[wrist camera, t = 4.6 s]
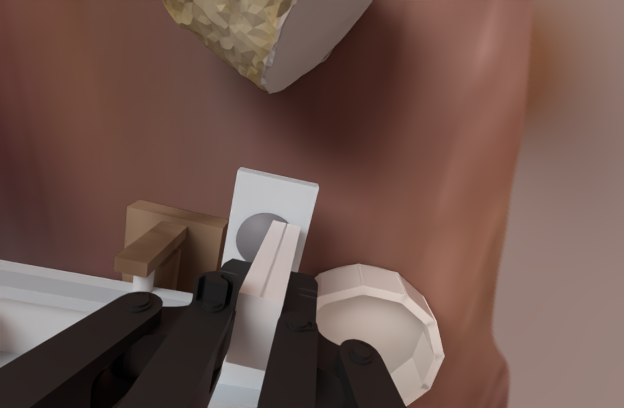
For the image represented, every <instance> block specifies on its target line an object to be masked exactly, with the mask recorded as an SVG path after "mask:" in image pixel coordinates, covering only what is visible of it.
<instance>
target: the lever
mask: <svg viewBox="0 0 624 408" xmlns="http://www.w3.org/2000/svg"><path fill="white" fill-rule="evenodd" d="M318 190H319V186H318V184H316V183H311V182H307V181H302V180H298V179H293V178H289V177H284V176H280V175H275V174H270V173H266V172H261V171H257V170H252V169H248V168H243V167H240V168H239V170H238V172H237V178H236V184H235V190H234V195H233V201H232V207H231V213H230V219H229V225H228V230H227V236H226V242H225V248H224V254H223V260H222V265H221V267H222V266H223V264H224V263H225V262H227V261H229V260H231V259H233V258H234V259H238V260H242V261H247V262H251V263H253V261H254V259H255V257H256V255H257V253H258V251H259V249H260V247H261V245H262V243H263V240H264V238H265V236H266V234H267V232H268V230H269V228H270V226H271V224H272V222H273V220H275V221H279V222H283V223H288V224H292V225H296V226H300V227H301V228H300V233H299V237H298V241H297V246H296V250H295V254H294V259H293V263H292V267H291V271H293V272H297V273H298V269H299V265H300V261H301V257H302V253H303V249H304V245H305V241H306V237H307V233H308V229H309V225H310V221H311V217H312V213H313V209H314V205H315V201H316V197H317V193H318ZM154 273H155V270H154V271H153V272H152V273H151V274H150V275H149V276H148V277H147V278H143V277H138V276H133V283H129V282H124V281H118V280H112V279H107V278H101V277H95V276H90V275H84V274H78V273H73V272H67V271H61V270H56V269H50V268H44V267H38V266H33V265H27V264H21V263H16V262H10V261H4V260H0V368H1V367H2V366H4V365H6V364H7V363H9V362H11V361H12V360H14V359H16V358H17V357H19V356H21V355H22V354H24V353H26V352H27V351H29V350H31V349H33V348H34V347H36V346H38V345H39V344H41V343H43V342H44V341H46V340H48V339H49V338H51V337H53V336H54V335H56V334H58V333H59V332H61V331H63V330H65V329H66V328H68V327H70V326H71V325H73V324H75V323H76V322H78V321H80V320H81V319H83V318H85V317H86V316H88V315H90V314H91V313H93V312H95V311H97V310H98V309H100V308H102V307H103V306H105V305H107V304H108V303H110V302H112V301H113V300H115V299H117V298H118V297H120V296H122V295H125V294H127V293H131V292H137V291H144V292H150V293H154V294H156V295H158V296H159V297H161V299H162V301H163V306H185V305H189V304H190V303H191V301H192V297H193V294H192V293H186V292H181V291H175V290H169V289H163V288H158V287H153V283H154ZM226 355H227V354H226ZM225 360H226V356H225V359H224V361H223V365H222V370H221V375H220V378H219V380H218V383H217V385H216V388H215V390H214V393H213V395H212V398H211V400H210V403H209V405H208V408H257V404H258V400H259V396H260V392H261V387H262V383H263V379H264V375H265V371H262V370H258V369H254V368H249V367H245V366H240V365H236V364H232V363H227V362H225Z"/></svg>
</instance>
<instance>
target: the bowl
mask: <svg viewBox="0 0 624 408" xmlns="http://www.w3.org/2000/svg"><path fill="white" fill-rule="evenodd" d="M315 280H316V281H317V283H318V292H317V293H318V295H317V311H316V323H317V325H318V330H319V332H320V333H321V334H322V335H323V336H324V337H325V338H327V339H328V340H330V341H332V342H334V343H336V344H338V345H341V343H342V342H344V341H345V340H348V339H357V340H362V341H364V342H366V343H368V344H370V345H371V346H373V347H374V348H375V349H376V350H377V351H378V353H379V354H380V355H381V357H382V359H383V361H384V363H385V365H386V367H387V369H388V371H389V373H390V375H391V377H392V379H393V381H394V383H395V385H396V387H397V390H398V392H399V394H400V396H401V398H402V400H403V402H404V404H405V406H408V405H409V404H410V403H412V402H413V401H415V400H416V399H417V398H419V397H420V396H421V395H423V394H424V393H426V392H427V391H428V390H430V389H431V386H432V384H433V381H434V379H435V377H436V375H437V372H438V370H439V368H440V366H441V363H442V361H443V359H444V358H445V357H444V356H445V355H444V353H443V348H442V344H441V339H440V335H439V330H438V326H437V321H436V319H435V317H434V315H433V313H432V311H431V310H430V308H429V306H428V304H427V302H426V300H425V298H424V296H422V295H421V294H420V293H419V292H418V291H417V290H416V289H415V288H414V287H413V286H412V285H411V284H410V283H409V282H408V281H406V280H405V279H404V278H403V277H401V276H400V275H399V274H398V272H393V271H390V270H387V269H385V268H381V267H378V266H372V265H363V264H358V263H357V264H354V265H345V266H340V267H336V268H333V269H330V270H328V271H326V272H323V273H319V275H317V276H316V277H315Z"/></svg>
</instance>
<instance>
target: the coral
mask: <svg viewBox="0 0 624 408" xmlns="http://www.w3.org/2000/svg"><path fill="white" fill-rule="evenodd" d="M162 1H163V3H164V5H165V7H166V9H167V10H168V12H169V13H170V15H171V16H172V17H173V19H174V20H175V22H176V23H177V24H178V25H179V26H180V27H181V28H184V29H188V30H190V31H192V32H193V33H194V34H195V35H196V36H197V38H198V39H200V40H201V41H202V42H203V43H204V45H205V46H206V47H208V48H209V49H210V50H211V51H212V52H214V53H215V54H216V55H217V56H218V57H220V58H221V59H222V60H223V61H225V62H226V63H227V64H229V65H230V66H231V67H233V68H236V69H237V70H238V72H239V73H240V75H242V76H245V77H246V78H248V79H249V80H251V81H252V82H254V83H255V84H256V85H257V86H258V87H259V88H260V89H262V90H265V91H267V93H268V94H271V93H275V92H279V91H281V90H284V89H285V88H286V87H288V86H289V85H290V84H292V83H293V82H295V81H296V80H297V79H298V78H299V77H301V76H303V75H304V74H306V73H307V72H309V71H310V70H312V69H313V68H315V67H316V66H317V65H318V64H320V63H321V62H323V61H325V60H326V59H327V58H328V57H329V56H330V54H331V52H332V50H333V48H334V47H335V46H336V45H337V44H338V43H339V42H340V41H341V40H342V39H343V38H344V36H345V35H346V34H347V33H348V31H349V30H350V29H351V28H352V27H353V25H354V24H355V23H356V22H357V20H358V19H359V18H360V17H361V16H362V14H363V13H364V12H365V10H366V9H367V8H368V7H369V5H370V4H371V3H372V1H373V0H162Z"/></svg>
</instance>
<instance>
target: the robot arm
mask: <svg viewBox="0 0 624 408" xmlns="http://www.w3.org/2000/svg"><path fill="white" fill-rule="evenodd" d="M300 228H301V227H300V226H296V225H292V224H288V223H283V222H279V221H275V220H273V222H272V224H271V226H270V228H269V230H268V232H267V234H266V236H265V238H264V240H263V243H262V245H261V247H260V249H259V251H258V253H257V255H256V257H255V259H254V261H253V263H251V262H247V261H242V260H238V259H234V258H233V259H231V260H229V261H227V262H225V263H224V264H223V266H222V267H221V269H220V271H219V272H218V271H209V272H204V273H201V274H199V275H198V276H197V277H196V278H195V284H194V290H193V297H192V301H191V303H190V304H189V305H185V306H163V301H162V299H161V297H159V296H158V295H156V294H154V293H150V292H144V291H137V292H131V293H127V294H125V295H122V296H120V297H118V298H117V299H115V300H113V301H112V302H110V303H108V304H107V305H105V306H103V307H102V308H100V309H98V310H97V311H95V312H93V313H91V314H90V315H88V316H86V317H85V318H83V319H81V320H80V321H78V322H76V323H75V324H73V325H71V326H70V327H68V328H66V329H65V330H63V331H61V332H59V333H58V334H56V335H54V336H53V337H51V338H49V339H48V340H46V341H44V342H43V343H41V344H39V345H38V346H36V347H34V348H33V349H31V350H29V351H27V352H26V353H24V354H22V355H21V356H19V357H17V358H16V359H14V360H12V361H11V362H9V363H7V364H6V365H4V366H2V367H1V368H0V408H208V405H209V403H210V400H211V398H212V395H213V393H214V390H215V388H216V385H217V383H218V380H219V378H220V375H221V370H222V365H223V361H224V359H225V356H226V360H225V362H227V363H232V364H236V365H240V366H245V367H249V368H254V369H258V370H262V371H265V375H264V379H263V383H262V387H261V392H260V396H259V400H258V404H257V408H406V406H405V404H404V402H403V400H402V398H401V396H400V394H399V392H398V390H397V387H396V385H395V383H394V381H393V379H392V377H391V375H390V373H389V371H388V369H387V367H386V365H385V363H384V361H383V359H382V357H381V355H380V354H379V353H378V351H377V350H376V349H375V348H374V347H373V346H371V345H370V344H368V343H366V342H364V341H362V340H357V339H348V340H345V341H344V342H342V343H341V345H338V344H336V343H334V342H332V341H330V340H328V339H327V338H325V337H324V336H323V335H322V334H321V333H320V332H319V330H318V325H317V323H316V311H317V295H318V293H317V292H318V283H317V281H316V280H315V278H314V276H310V275H306V274H301V273H297V272H293V271H291V267H292V263H293V259H294V254H295V250H296V246H297V241H298V237H299V233H300ZM226 354H227V355H226Z"/></svg>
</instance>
